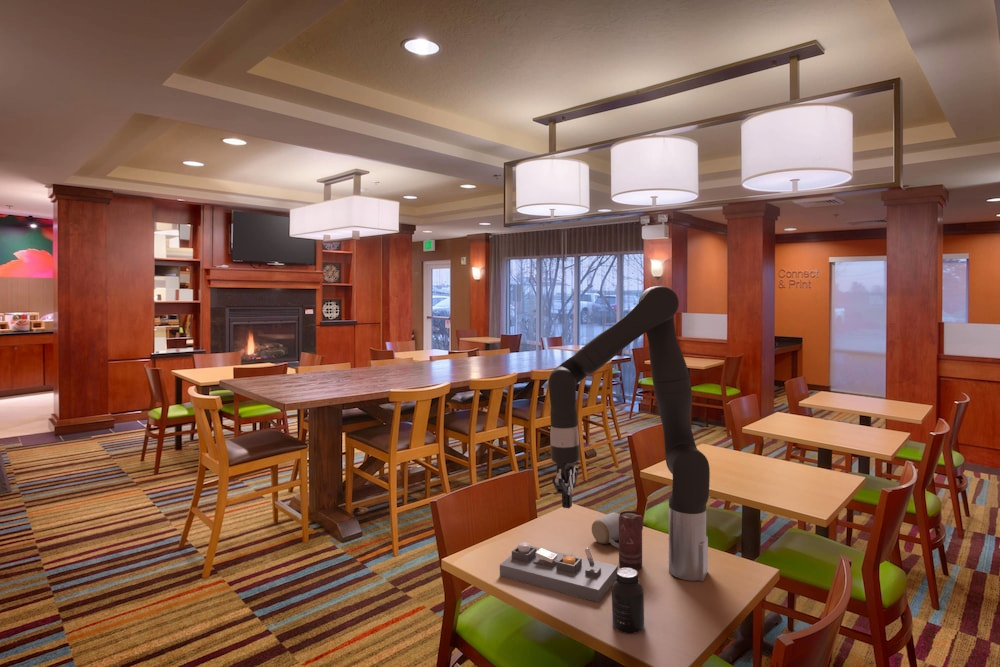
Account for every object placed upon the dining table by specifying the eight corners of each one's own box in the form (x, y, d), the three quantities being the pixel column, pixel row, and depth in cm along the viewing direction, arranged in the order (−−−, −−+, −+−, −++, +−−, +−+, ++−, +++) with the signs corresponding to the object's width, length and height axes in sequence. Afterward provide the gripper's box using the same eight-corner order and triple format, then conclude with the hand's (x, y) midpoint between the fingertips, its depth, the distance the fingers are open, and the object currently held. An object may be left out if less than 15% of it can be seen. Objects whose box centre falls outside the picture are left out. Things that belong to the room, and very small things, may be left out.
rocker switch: (556, 558, 147) (557, 554, 146) (551, 563, 144) (552, 559, 144) (540, 551, 149) (541, 547, 149) (535, 556, 146) (535, 552, 146)
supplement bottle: (621, 613, 127) (620, 561, 126) (649, 624, 123) (649, 570, 122) (606, 627, 122) (606, 573, 121) (635, 638, 117) (635, 582, 117)
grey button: (532, 550, 150) (532, 543, 150) (526, 555, 147) (526, 548, 147) (521, 548, 152) (521, 541, 152) (516, 552, 149) (515, 545, 149)
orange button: (577, 564, 144) (577, 557, 144) (572, 569, 141) (572, 562, 141) (565, 561, 145) (565, 555, 145) (560, 566, 143) (560, 559, 142)
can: (643, 571, 147) (643, 519, 146) (619, 569, 148) (618, 517, 147) (642, 561, 153) (642, 511, 152) (618, 559, 154) (618, 509, 153)
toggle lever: (595, 565, 140) (589, 546, 141) (594, 567, 139) (587, 548, 140) (591, 566, 141) (585, 547, 141) (589, 568, 140) (583, 549, 140)
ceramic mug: (589, 540, 167) (589, 515, 166) (607, 533, 172) (608, 508, 171) (617, 553, 159) (617, 526, 158) (635, 545, 164) (635, 519, 163)
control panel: (617, 577, 144) (617, 558, 144) (598, 602, 132) (598, 581, 132) (525, 555, 158) (524, 537, 157) (499, 575, 146) (499, 557, 145)
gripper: (568, 449, 140) (570, 517, 141) (587, 438, 152) (589, 501, 152) (541, 447, 144) (543, 513, 145) (561, 436, 155) (563, 497, 156)
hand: (567, 507), depth 149 cm, fingers closed
